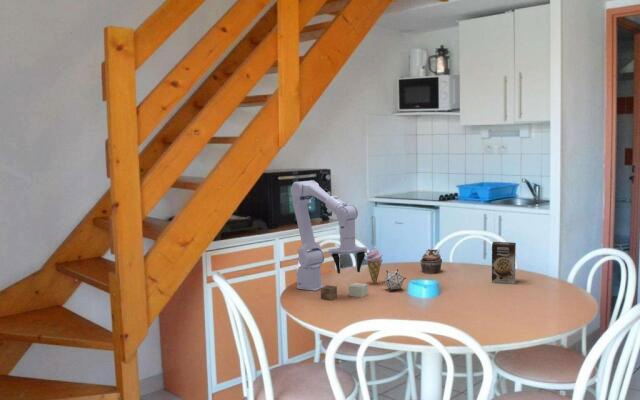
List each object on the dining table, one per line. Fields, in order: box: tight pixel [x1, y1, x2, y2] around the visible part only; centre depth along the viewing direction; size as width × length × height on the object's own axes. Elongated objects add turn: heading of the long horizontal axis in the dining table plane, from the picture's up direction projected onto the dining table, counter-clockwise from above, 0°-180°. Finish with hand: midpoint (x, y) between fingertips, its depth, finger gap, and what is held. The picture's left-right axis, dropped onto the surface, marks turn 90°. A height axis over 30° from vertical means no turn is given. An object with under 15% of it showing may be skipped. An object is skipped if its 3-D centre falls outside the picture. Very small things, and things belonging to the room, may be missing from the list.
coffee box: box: [491, 241, 517, 285], centre depth 236 cm, size 9×6×16 cm
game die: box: [381, 268, 407, 292], centre depth 230 cm, size 9×8×10 cm
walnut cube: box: [320, 284, 338, 301], centre depth 221 cm, size 4×4×4 cm
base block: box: [347, 282, 369, 298], centre depth 225 cm, size 6×6×4 cm
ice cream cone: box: [366, 247, 383, 285], centre depth 240 cm, size 7×6×15 cm
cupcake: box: [419, 248, 443, 275], centre depth 258 cm, size 10×10×10 cm
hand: (348, 272), depth 222 cm, fingers open, 7 cm apart
